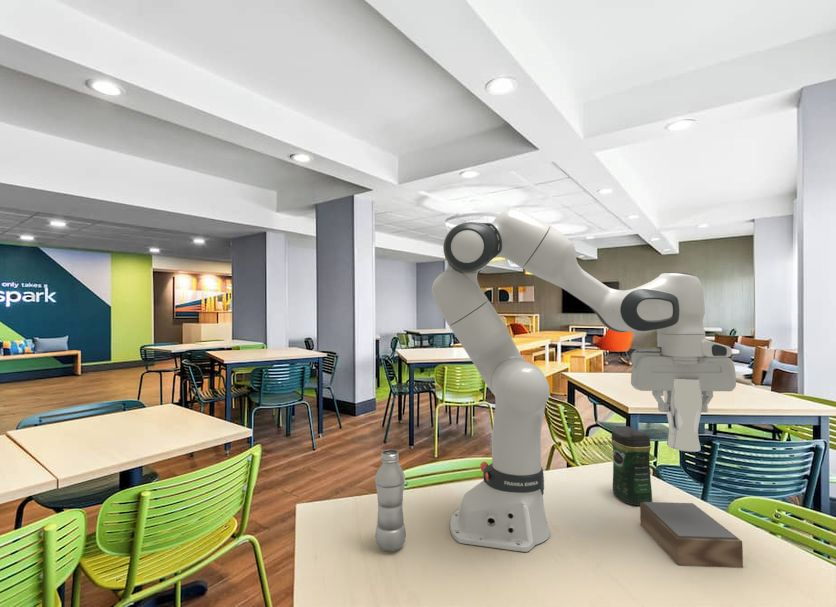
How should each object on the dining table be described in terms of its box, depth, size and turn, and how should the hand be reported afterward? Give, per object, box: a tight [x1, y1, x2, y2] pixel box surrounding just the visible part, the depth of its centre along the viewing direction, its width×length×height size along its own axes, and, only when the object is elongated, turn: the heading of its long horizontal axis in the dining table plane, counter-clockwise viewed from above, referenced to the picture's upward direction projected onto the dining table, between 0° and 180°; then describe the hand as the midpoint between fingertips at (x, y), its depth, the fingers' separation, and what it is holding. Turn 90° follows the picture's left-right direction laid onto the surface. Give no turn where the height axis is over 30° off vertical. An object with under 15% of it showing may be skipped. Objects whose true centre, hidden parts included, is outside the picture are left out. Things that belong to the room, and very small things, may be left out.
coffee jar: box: [611, 425, 653, 506], centre depth 111 cm, size 10×8×19 cm
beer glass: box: [663, 378, 703, 453], centre depth 90 cm, size 7×7×15 cm
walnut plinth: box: [639, 501, 744, 568], centre depth 89 cm, size 12×16×5 cm
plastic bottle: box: [374, 449, 407, 552], centre depth 89 cm, size 6×7×20 cm
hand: (682, 411), depth 90 cm, fingers closed on beer glass, 6 cm apart
